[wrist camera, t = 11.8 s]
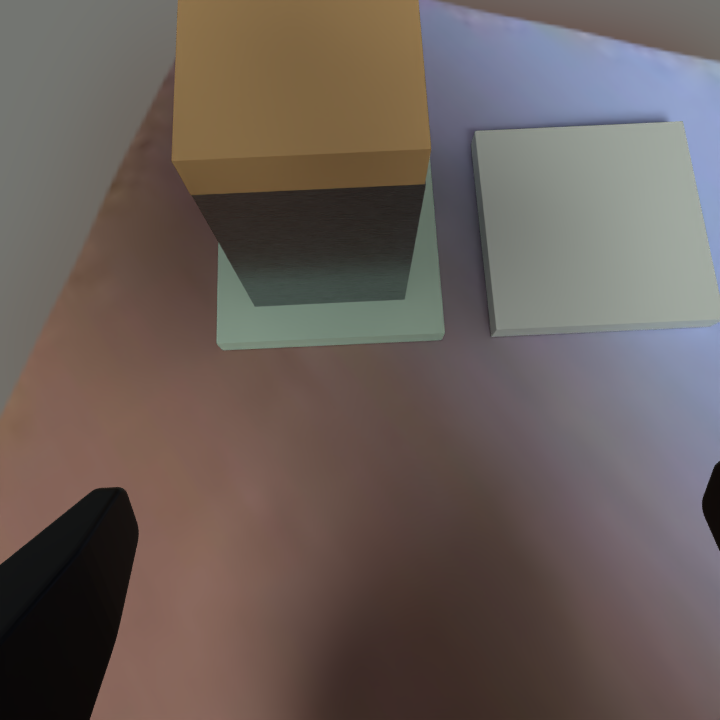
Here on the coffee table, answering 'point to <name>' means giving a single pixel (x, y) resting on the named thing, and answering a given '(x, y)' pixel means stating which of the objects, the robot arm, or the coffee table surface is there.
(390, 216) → the base
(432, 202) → the stand
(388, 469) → the coffee table surface
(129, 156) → the coffee table surface
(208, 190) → the cover
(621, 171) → the stand
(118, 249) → the coffee table surface
